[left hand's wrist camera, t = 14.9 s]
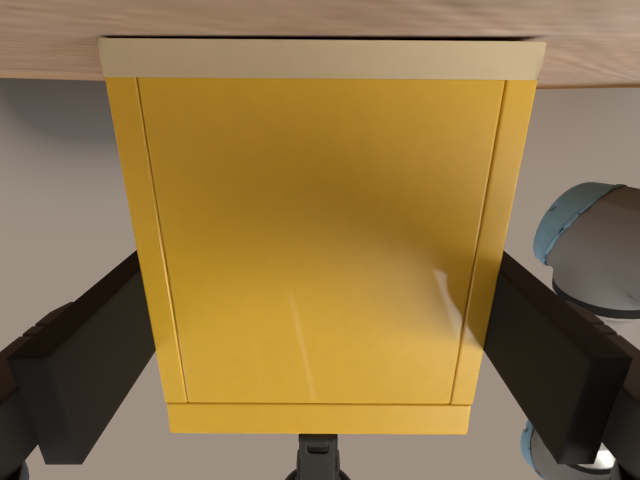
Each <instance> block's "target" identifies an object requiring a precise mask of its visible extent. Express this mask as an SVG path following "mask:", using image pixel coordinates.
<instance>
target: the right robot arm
mask: <svg viewBox="0 0 640 480" xmlns="http://www.w3.org/2000/svg"><path fill="white" fill-rule="evenodd" d="M533 249H534V254H535V257H536V258H537V259H539V261H541V262H542V263H543V264H544V265H547V266H552V267H553V279H552V288H553V291H554V293H555V294H557V295H558V296H559V297H560V298H561V299H563V300H564V301H571V302H573V303H575V304H577V305H579V306H581V307H583V308H585V309H587V310H589V311H591V312H592V313H593V314H594V315H596V316H597V317H598V318H599V319H601V320H602V321H603V322H604V324H605V325H608V326H610V327H611V328H612V329H613V330H615V331H616V332H617V335H621V336H622V337H624V338H625V339H626V340H627V341H629V342H630V343H631V344H632V345H634V346H635V347H636V348H637V349H639V348H640V189H637V188H632V187H627V186H626V185H624V184H617V185H612V184H604V183H596V182H587V183H582V184H579V185H576V186H574V187H572V188H570V189H569V190H567V191H566V192H565V193H563V194H562V195H561V196H560V197H559V198H558V199H557V200H556V201H555V202H554V203H553V204H552V206H551V207H550V209H549V210H548V211H547V212H546V214H545V215H544V217H543V219H542V220H541V222H540V224H539V226H538V229H537V231H536V234H535V238H534V245H533ZM526 426H527V427H526V429H524V430H523V433H522V436H521V451H522V454H523V457H524V458H525V460H526V461H527V463H528V464H529V465H530V466H531V467H532V468H533V469H534V470H535V472H536V473H537V474H538V475H539V476H540V477H541V478H542V479H544V480H608V477H609V475H610V472H611V470H612V467H613V464H614V462H615V458H614V457H613V455H612V454H611V453H610V452H609V450H608V449H607V448H606V447H605V446H604V444H603V443H601V446H600V449H599V452H598V454H597V457H596V460H595V462H594V464H557V462H556V461H555V459H554V458H553V456H552V455H551V453H550V452H549V450H548V449H547V447H546V445H545V444H544V442H543V441H542V439H541V438H540V436H539V435H538V433H537V432H536V430H535V429H534V427H533V425H532V424H531V422H530V421H529V420H528V421H527V423H526ZM337 442H338V437H337V434H299V450H298V452H297V469H295V470H294V471H293V472H291V473H290V474H289V475H288V476H287V478H286V479H285V480H350V478H349V477H348V476H347V475H346V474H345V473H344V472H343V471H342V470H340V459H339V450H338V449H337Z"/></svg>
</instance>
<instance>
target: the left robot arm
mask: <svg viewBox="0 0 640 480" xmlns="http://www.w3.org/2000/svg"><path fill="white" fill-rule="evenodd" d="M155 351H156V348H155V343H154V338H153V332H152V327H151V322H150V317H149V312H148V306H147V301H146V296H145V291H144V285H143V280H142V275H141V269H140V264H139V258H138V253H137V250H136V251H135V252H134V253H132V254H131V255H130V256H129V257H128V258H126V259H125V260H124V261H123V262H122V263H120V264H119V265H118V266H117V267H116V268H114V269H113V270H112V271H111V272H110V273H108V274H107V275H106V276H105V277H104V278H102V279H101V280H100V281H99V282H98V283H96V284H95V285H94V286H93V287H91V288H90V289H89V290H88V291H87V292H85V293H84V294H83V295H82V296H81V297H79V298H78V299H77V300H76V301H75V302H70V303H68V304H66V305H64V306H62V307H60V308H58V309H56V310H54V311H52V312H50V313H49V314H47V315H46V316H45V317H44V318H42V319H41V320H40V321H39V322H37V323H36V324H35V326H32V327H31V328H30V329H28V330H27V331H26V332H25V333H23V336H22V337H18V338H17V339H16V340H15V341H13V342H12V343H11V344H10V345H8V346H7V347H6V348H5V349H3V350H2V351H1V352H0V480H29V471H28V467H27V464H26V462H25V459H26V458H27V457H28V456H29V455H30V453H31V452H32V451H33V450H34V448H35V447H36V446H37V445H39V448H40V450H41V453H42V456H43V458H44V461H45V464H82V463H83V462H84V460H85V459H86V457H87V456H88V454H89V453H90V451H91V449H92V448H93V446H94V445H95V443H96V442H97V440H98V439H99V437H100V436H101V434H102V432H103V431H104V429H105V428H106V426H107V425H108V423H109V422H110V420H111V419H112V417H113V416H114V414H115V412H116V411H117V409H118V408H119V406H120V405H121V403H122V402H123V400H124V399H125V397H126V396H127V394H128V392H129V391H130V389H131V388H132V386H133V385H134V383H135V382H136V380H137V379H138V377H139V375H140V374H141V372H142V371H143V369H144V368H145V366H146V365H147V363H148V362H149V360H150V359H151V357H152V355H153V354H154V352H155ZM484 351H485V353H486V355H487V356H488V358H489V359H490V361H491V362H492V364H493V365H494V367H495V368H496V370H497V371H498V373H499V375H500V376H501V378H502V379H503V381H504V382H505V384H506V385H507V387H508V388H509V390H510V391H511V393H512V395H513V396H514V398H515V399H516V401H517V402H518V404H519V405H520V407H521V408H522V410H523V411H524V413H525V415H526V416H527V418H528V419H529V421H530V422H531V424H532V425H533V427H534V429H535V430H536V432H537V433H538V435H539V436H540V438H541V439H542V441H543V442H544V444H545V445H546V447H547V449H548V450H549V452H550V453H551V455H552V456H553V458H554V459H555V461H556V462H557V464H594V462H595V460H596V457H597V454H598V452H599V449H600V446H601V443H603V444H604V446H605V447H606V448H607V449H608V450H609V452H610V453H611V454H612V455H613V457H614V458H615V462H614V464H613V467H612V470H611V472H610V475H609V477H608V480H640V350H639V349H637V348H636V347H635V346H634V345H632V344H631V343H630V342H629V341H627V340H626V339H625V338H624V337H622V336H621V335H617V332H616V331H615V330H613V329H612V328H611V327H610V326H608V325H605V324H604V322H603V321H602V320H601V319H599V318H598V317H597V316H596V315H594V314H593V313H592V312H591V311H589V310H587V309H585V308H583V307H581V306H579V305H577V304H575V303H573V302H571V301H564V300H563V299H561V298H560V297H559V296H558V295H557V294H555V293H554V292H553V291H552V290H550V289H549V288H548V287H547V286H546V285H544V284H543V283H542V282H541V281H540V280H538V279H537V278H536V277H535V276H534V275H532V274H531V273H530V272H529V271H528V270H526V269H525V268H524V267H523V266H522V265H520V264H519V263H518V262H517V261H516V260H514V259H513V258H512V257H511V256H510V255H508V254H507V253H506V252H505V251H504V250H503V255H502V260H501V265H500V270H499V274H498V279H497V284H496V289H495V295H494V300H493V305H492V310H491V315H490V320H489V325H488V330H487V335H486V340H485V345H484Z"/></svg>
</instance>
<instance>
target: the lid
mask: <svg viewBox="0 0 640 480" xmlns="http://www.w3.org/2000/svg"><path fill="white" fill-rule="evenodd" d="M470 408H471V405H470V404H451V403H449V404H387V403H217V402H188V401H187V402H186V403H167V410H168V419H169V428H170V432H171V433H293V434H294V433H295V434H467V432H468V424H469V416H470Z"/></svg>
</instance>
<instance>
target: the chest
mask: <svg viewBox="0 0 640 480" xmlns="http://www.w3.org/2000/svg"><path fill="white" fill-rule="evenodd" d="M96 41H97V46H98V52H99V57H100V63H101V68H102V73H103V77H105V80H106V86H107V91H108V97H109V102H110V107H111V113H112V118H113V123H114V129H115V134H116V140H117V145H118V150H119V156H120V161H121V167H122V172H123V177H124V183H125V188H126V194H127V199H128V204H129V210H130V215H131V221H132V226H133V231H134V237H135V242H136V247H137V253H138V258H139V264H140V269H141V275H142V280H143V285H144V291H145V296H146V301H147V306H148V312H149V317H150V322H151V327H152V332H153V338H154V343H155V348H156V356H157V361H158V366H159V372H160V377H161V382H162V388H163V393H164V399H165V402H167V403H186V402H187V401H188V402H217V403H387V404H449V403H451V404H473V400H474V395H475V389H476V385H477V379H478V375H479V370H480V365H481V360H482V355H483V350H484V345H485V340H486V335H487V330H488V325H489V320H490V315H491V310H492V305H493V300H494V295H495V289H496V284H497V279H498V274H499V270H500V265H501V260H502V255H503V250H504V244H505V240H506V235H507V230H508V225H509V220H510V215H511V210H512V205H513V200H514V195H515V190H516V185H517V180H518V175H519V170H520V165H521V160H522V155H523V150H524V145H525V140H526V135H527V130H528V125H529V120H530V115H531V110H532V105H533V100H534V95H535V90H536V85H537V80H539V78H540V73H541V68H542V63H543V58H544V54H545V49H546V44H547V42H546V41H428V40H295V39H162V38H96Z"/></svg>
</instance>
